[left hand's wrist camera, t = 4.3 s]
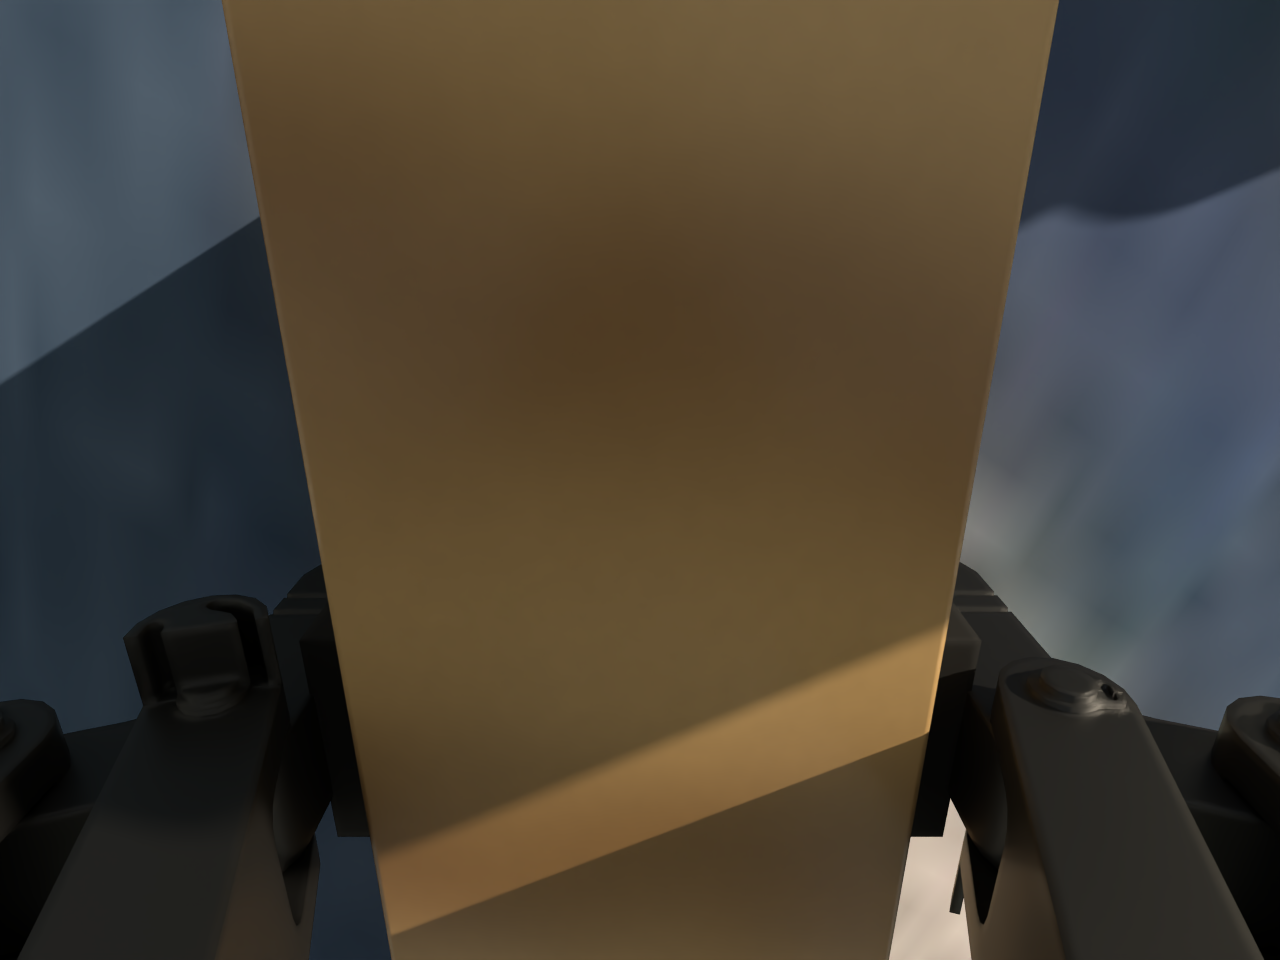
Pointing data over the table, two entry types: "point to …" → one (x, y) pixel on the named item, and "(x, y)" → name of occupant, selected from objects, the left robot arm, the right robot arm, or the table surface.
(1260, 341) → the table surface
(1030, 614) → the table surface
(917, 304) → the post
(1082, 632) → the table surface
